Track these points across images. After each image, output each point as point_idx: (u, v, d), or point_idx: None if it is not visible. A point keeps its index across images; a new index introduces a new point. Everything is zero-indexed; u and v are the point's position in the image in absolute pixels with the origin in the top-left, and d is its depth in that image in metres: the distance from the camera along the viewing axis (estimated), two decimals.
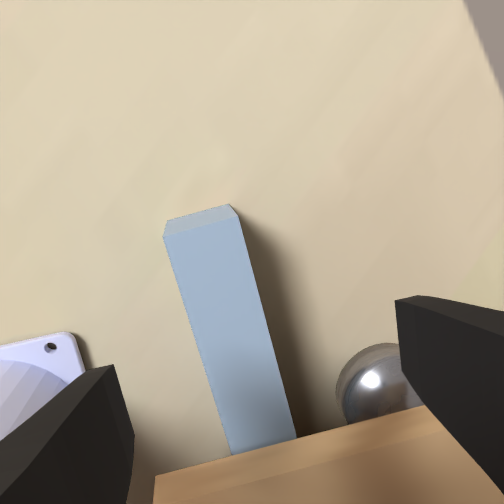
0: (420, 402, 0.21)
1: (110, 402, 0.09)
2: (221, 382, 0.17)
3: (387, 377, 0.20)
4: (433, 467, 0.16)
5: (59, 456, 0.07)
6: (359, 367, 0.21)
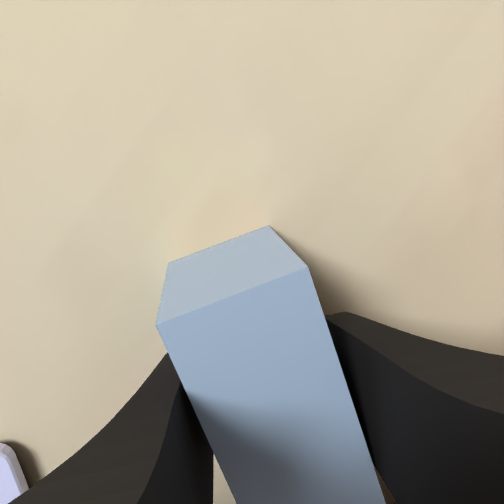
0: None
1: None
2: None
3: None
4: None
5: (177, 428, 0.07)
6: None
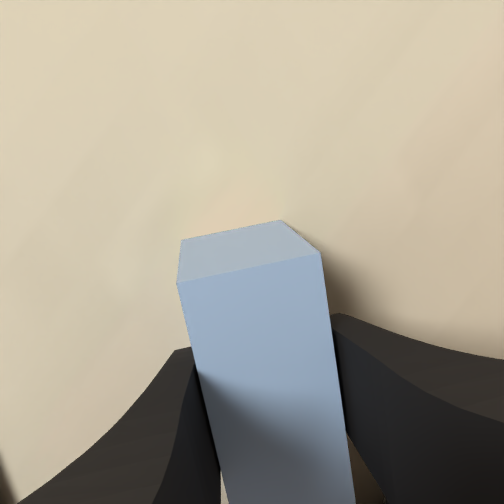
0: None
1: None
2: None
3: None
4: None
5: (187, 425, 0.07)
6: None
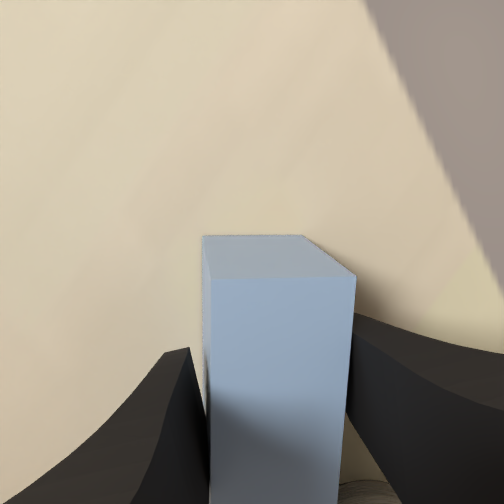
0: None
1: (192, 383, 0.09)
2: None
3: None
4: None
5: (172, 429, 0.07)
6: None
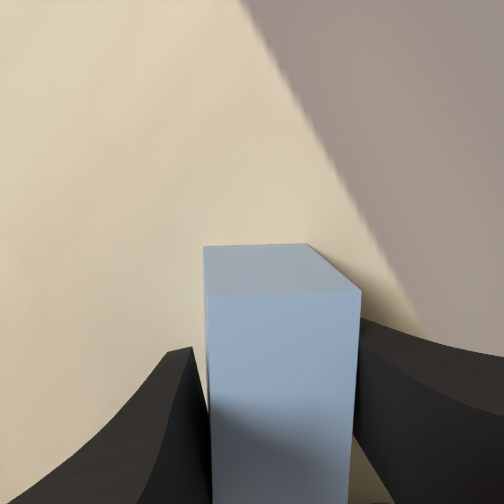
0: None
1: (195, 382, 0.09)
2: None
3: None
4: None
5: (176, 428, 0.07)
6: None
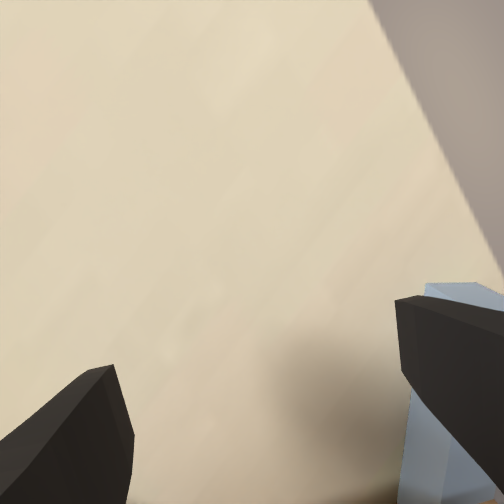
0: None
1: (110, 402, 0.09)
2: None
3: None
4: None
5: (59, 456, 0.07)
6: None
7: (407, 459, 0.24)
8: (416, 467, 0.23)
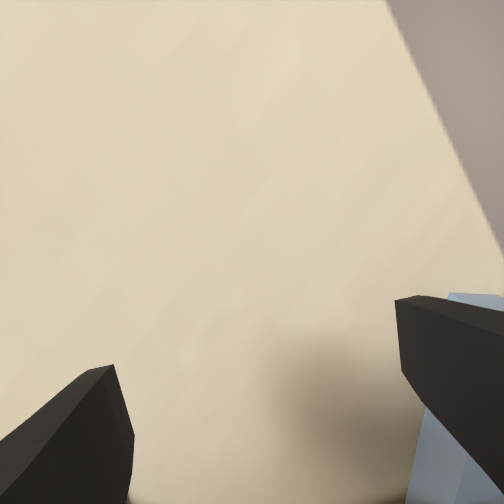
0: None
1: (110, 402, 0.09)
2: None
3: None
4: None
5: (59, 456, 0.07)
6: None
7: (418, 466, 0.24)
8: (427, 474, 0.23)
